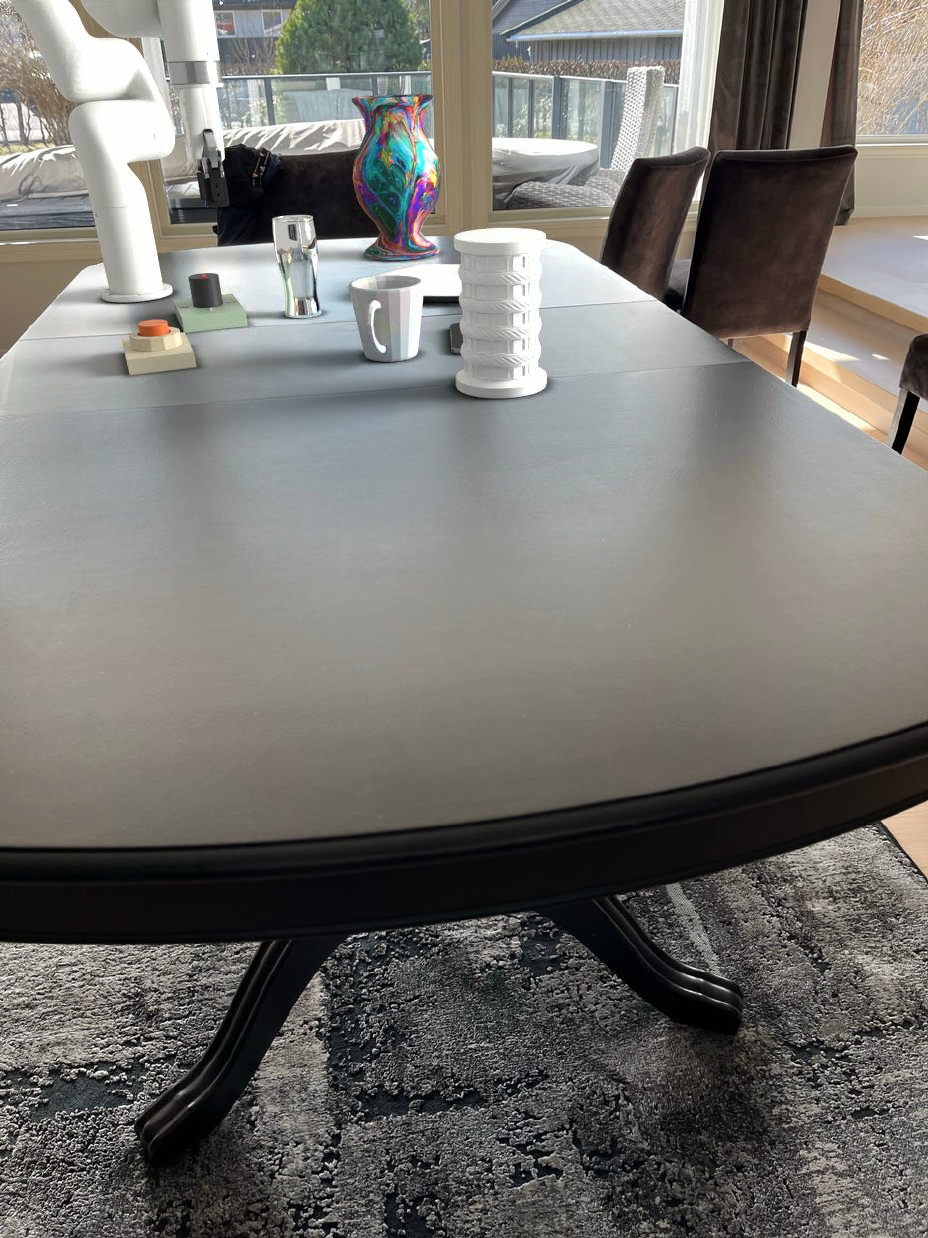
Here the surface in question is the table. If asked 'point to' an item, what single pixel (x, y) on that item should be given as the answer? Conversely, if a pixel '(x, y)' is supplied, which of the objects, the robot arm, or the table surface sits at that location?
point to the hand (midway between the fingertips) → (214, 202)
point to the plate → (434, 280)
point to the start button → (153, 328)
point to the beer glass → (297, 263)
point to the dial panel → (210, 315)
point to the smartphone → (456, 338)
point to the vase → (396, 174)
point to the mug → (388, 315)
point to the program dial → (205, 290)
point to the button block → (158, 352)
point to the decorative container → (500, 312)
